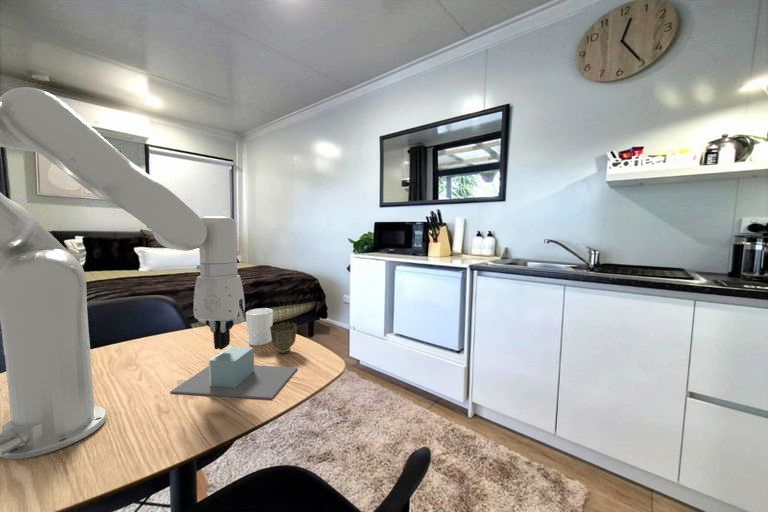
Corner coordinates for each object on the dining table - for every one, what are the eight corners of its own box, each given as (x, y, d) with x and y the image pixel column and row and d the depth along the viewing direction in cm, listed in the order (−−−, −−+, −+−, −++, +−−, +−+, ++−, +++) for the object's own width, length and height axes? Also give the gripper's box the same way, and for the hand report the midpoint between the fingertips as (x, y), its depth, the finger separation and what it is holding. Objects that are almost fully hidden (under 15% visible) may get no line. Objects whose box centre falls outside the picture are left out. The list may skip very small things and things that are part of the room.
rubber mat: (271, 399, 62) (271, 397, 62) (170, 393, 65) (170, 391, 65) (297, 369, 76) (297, 367, 76) (213, 364, 79) (213, 363, 78)
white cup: (278, 340, 96) (278, 310, 95) (257, 348, 90) (256, 316, 89) (263, 335, 100) (262, 306, 100) (241, 343, 94) (240, 312, 93)
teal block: (209, 386, 67) (235, 387, 66) (208, 360, 66) (234, 361, 66) (231, 369, 75) (254, 370, 74) (230, 346, 74) (253, 347, 74)
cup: (270, 349, 89) (270, 323, 89) (296, 345, 92) (295, 320, 91) (270, 359, 82) (269, 330, 82) (298, 355, 85) (297, 328, 84)
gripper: (176, 271, 66) (180, 352, 67) (240, 273, 64) (243, 355, 66) (200, 267, 73) (203, 340, 75) (258, 268, 72) (260, 342, 73)
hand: (222, 346), depth 70 cm, fingers closed
